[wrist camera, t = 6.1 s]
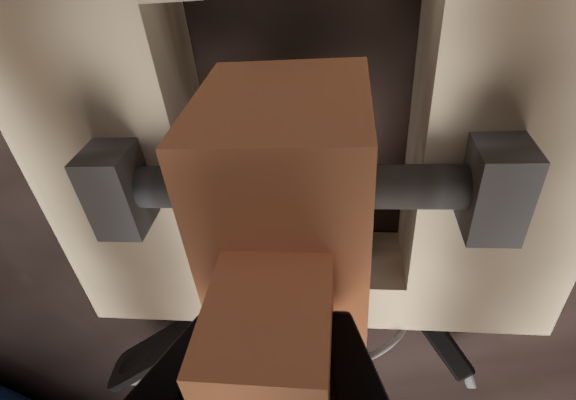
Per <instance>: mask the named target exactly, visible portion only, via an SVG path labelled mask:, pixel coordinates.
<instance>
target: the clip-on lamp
mask: <svg viewBox="0 0 576 400" xmlns="http://www.w3.org/2000/svg"><path fill="white" fill-rule="evenodd" d="M191 322H192V321H179V320H178V321H177V322H175V323H173V324H171V325H170V326H168V327H166V328H164V329H163V330H161V331H159V332H158V333H156V334H154V335H152V336H151V337H149V338H147V339H146V340H144V341H142V342H140V343H139V344H137V345H135V346H133V347H132V348H130V349H128V350H127V351H125V352H124V353H123V354H122V355H121V356H120V358H119V359H118V360H117V362H116V364H115V367H114V369H113V372H112V374H111V377H110V380H109V382H108V387H107V388H108V389H109V390H111V391H112V392H114V393H117V392H119V391H121V390H123V389H125V388H127V387H128V386H130V385H137V384H138V383H139V381H140V380H141V379H142V378H143V377H144V376H145V375H146V373H147V372H148V371H149V370H150V369H151V368H152V367H153V365H154V364H155V363H156V362H157V361H158V360H159V359H160V358H161V356H162V355H163V354H164V353H165V352H166V351H167V350H168V348H169V347H170V346H171V345H172V344H173V343H174V342H175V341H176V339H177V338H178V337H179V336H180V335H181V334H182V333H183V331H184V330H185V329H186V328H187V327H188V326H189V325H190V323H191ZM406 331H407V330H400V329H399V331H398V332H397V333H396V335H395V336H394V337H393V338H392V339H391V340H390V341H388V342H387V343H386V344H385V345H383V346H382V347H380V348H378V349H377V350H375V351H373V352H369V355H370V357H371V359H372V360H373V359H375V358H377V357H379V356H381V355H382V354H384V353H385V352H387V351H388V350H390V349H391V348H392V347H393V346H394V345H396V344H397V343H398V341H399V340H400V339H401V338H402V337H403V336H404V334H405V332H406ZM421 331H422V332H423V334H424V335H425V336H426V338H427V339H428V341H429V342H430V344H431V345H432V346H433V348H434V349H435V351H436V352H437V353H438V355H439V356H440V358H441V359H442V361H443V362H444V363H445V365H446V366H447V368H448V369H449V370H450V372H451V373H452V375H453V376H454V377H455V379H456V380H457V381H458V382H461V381H463V380H464V381H465V384H466V387H467V388H472V389H475V388H476V384H475V380H474V377H473V375H474V374H475V369H474V368H473V366H472V365H471V363H470V362H469V361H468V359H467V358H466V356H465V355H464V354H463V352H462V351H461V349H460V348H459V346H458V345H457V344H456V342H455V341H454V339H453V338H452V337H451V335H450V334H449V332H448V331H424V330H421Z"/></svg>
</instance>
